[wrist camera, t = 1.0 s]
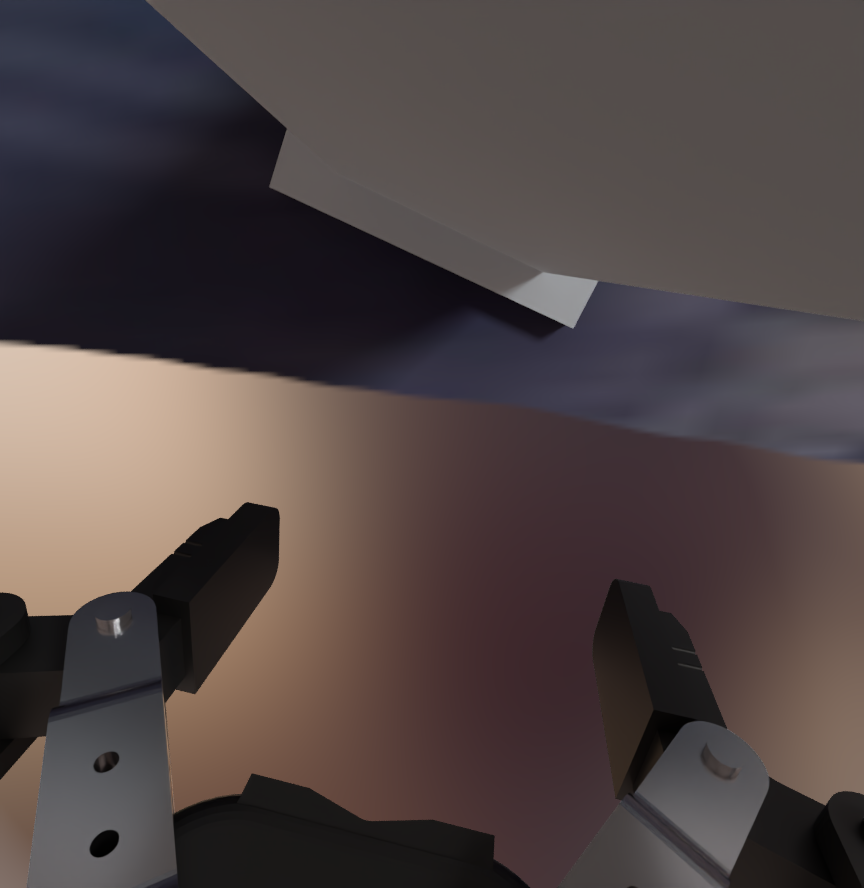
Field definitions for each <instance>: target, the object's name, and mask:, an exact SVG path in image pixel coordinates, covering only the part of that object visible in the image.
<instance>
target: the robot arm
mask: <svg viewBox="0 0 864 888" xmlns="http://www.w3.org/2000/svg"><path fill="white" fill-rule="evenodd" d="M279 524H280V516H279V511H278V509H277V508H273V507H268V506H263V505H258V504H253V503H249V502H247V503H244V504H243V505H242V506H241V507H240V508H239V509H238V510H237V511H236V512H235V513H234V514H233V515H232V516H231V517H230V518H229V519H224V518H219V519H217V520H214V521H212V522H210V523H208V524H206V525H204V526H202V527H200V528H199V529H198V530H197V531H195V532H194V533H193V534H192V535H191V536H190V537H189V538H188V539H187V540H186V542H185V543H183V544H181V545H180V547H178V548H177V549H176V550H175V551H174V554H171V555H170V556H169V557H167V559H165V560H164V561H163V562H162V563H161V564H160V565H159V566H158V567H157V568H156V569H155V570H153V571H152V572H151V573H150V574H149V575H148V576H147V577H146V578H145V579H144V580H143V581H142V582H141V583H139V585H137V586H136V587H135V588H134V589H133V590H132V591H131V592H117V593H111V594H107V595H104V596H101V597H98V598H96V599H94V600H92V601H90V602H88V603H87V604H85V605H84V606H82V607H81V608H80V609H79V610H78V611H76V613H75V614H74V615H62V616H28V613H27V609H26V605H25V602H24V601H23V599H22V598H20V597H19V596H17V595H14V594H10V593H0V779H1V778H2V777H3V776H4V775H5V774H6V773H7V772H8V770H9V769H10V768H11V767H12V765H14V763H15V762H16V761H17V760H18V759H19V758H20V757H21V756H22V754H23V753H24V752H25V751H26V750H27V749H28V748H29V746H30V745H31V744H32V743H33V742H34V741H35V740H36V738H37V737H42V736H46V742H45V750H44V757H43V765H42V772H41V781H40V788H39V795H38V803H37V812H36V818H35V826H34V834H33V842H32V849H31V858H30V865H29V873H28V880H27V888H530V887H529V886H528V885H527V884H526V883H525V882H524V881H523V880H521V878H519V877H518V876H517V875H516V874H515V873H513V872H512V871H511V870H509V869H508V868H507V867H505V866H504V865H503V864H501V863H499V862H498V861H496V860H494V859H493V857H494V835H490V834H486V833H482V832H478V831H474V830H471V829H467V828H463V827H459V826H455V825H451V824H447V823H443V822H439V821H435V820H408V821H407V820H406V821H366V820H363V819H361V818H359V817H357V816H356V815H354V814H352V813H350V812H349V811H347V810H346V809H344V808H342V807H340V806H339V805H337V804H335V803H334V802H332V801H330V800H329V799H327V798H325V797H324V796H322V795H320V794H318V793H317V792H315V791H313V790H312V789H310V788H307V787H302V786H299V785H295V784H291V783H287V782H283V781H279V780H276V779H272V778H268V777H264V776H260V775H256V774H251V776H250V778H249V780H248V782H247V784H246V786H245V789H244V790H243V792H242V794H235V795H234V794H233V795H227V796H220V797H215V798H212V799H208V800H204V801H201V802H199V803H196V804H193V805H191V806H188V807H186V808H184V809H182V810H180V811H178V812H176V813H175V809H174V798H173V788H172V776H171V775H172V774H171V764H170V751H169V740H168V729H167V716H166V705H165V703H166V701H167V700H168V699H169V697H170V696H171V695H172V693H173V692H174V691H175V689H176V690H180V691H184V692H189V693H192V694H195V693H196V692H197V691H198V689H199V688H200V687H201V685H202V684H203V682H204V681H205V679H206V678H207V676H208V675H209V674H210V672H211V671H212V669H213V668H214V667H215V665H216V664H217V662H218V661H219V659H220V658H221V657H222V655H223V654H224V652H225V651H226V650H227V648H228V647H229V645H230V644H231V642H232V641H233V640H234V638H235V637H236V635H237V634H238V632H239V631H240V630H241V628H242V627H243V625H244V624H245V622H246V621H247V620H248V618H249V617H250V615H251V614H252V612H253V611H254V610H255V608H256V607H257V605H258V604H259V602H260V601H261V600H262V598H263V597H264V595H265V594H266V593H267V591H268V590H269V588H270V587H271V585H272V583H273V581H274V579H275V576H276V573H277V569H278V563H279ZM593 663H594V669H595V675H596V681H597V687H598V694H599V700H600V706H601V712H602V718H603V724H604V730H605V736H606V743H607V748H608V755H609V761H610V767H611V773H612V779H613V785H614V791H615V797H616V799H619V800H622V801H621V802H620V803H619V805H618V806H617V808H616V809H615V810H614V812H613V813H612V814H611V816H610V817H609V818H608V820H607V821H606V822H605V824H604V825H603V826H602V828H601V829H600V831H599V832H598V833H597V835H596V836H595V838H594V839H593V840H592V841H591V843H590V844H589V846H588V847H587V848H586V850H585V851H584V852H583V854H582V855H581V856H580V858H579V859H578V860H577V862H576V864H575V865H574V866H573V867H572V869H571V870H570V871H569V873H568V874H567V875H566V877H565V878H564V879H563V881H562V882H561V883H560V885H559V886H558V888H864V795H862V794H860V793H855V792H848V791H843V792H838V793H836V794H834V795H833V796H832V797H831V798H830V800H829V801H828V803H827V804H826V806H825V805H823V804H821V803H819V802H817V801H815V800H813V799H811V798H809V797H807V796H805V795H802V794H801V793H799V792H797V791H795V790H793V789H791V788H789V787H787V786H785V785H783V784H781V783H779V782H777V781H775V780H774V779H772V778H770V777H769V776H768V773H767V770H766V768H765V766H764V764H763V762H762V761H761V759H760V758H759V757H758V755H757V754H756V753H755V751H754V750H753V749H752V748H751V747H750V746H749V745H748V744H747V743H746V742H744V741H743V740H742V739H741V738H740V737H738V736H737V735H736V734H734V733H732V732H731V731H729V730H727V727H726V725H725V723H724V720H723V717H722V715H721V713H720V710H719V708H718V705H717V703H716V700H715V698H714V695H713V693H712V691H711V688H710V686H709V683H708V681H707V678H706V676H705V674H704V671H702V666H701V664H700V661H699V659H698V656H697V655H695V649H694V646H693V644H692V641H691V639H690V637H689V634H688V632H687V631H686V630H685V628H684V627H683V626H682V625H681V624H680V623H679V622H678V620H677V619H676V618H675V617H674V616H673V615H672V614H671V613H667V612H663V611H659V609H658V606H657V604H656V601H655V598H654V596H653V592H652V590H651V588H650V586H648V585H643V584H638V583H633V582H629V581H624V580H618V579H614V580H613V581H612V583H611V585H610V588H609V591H608V594H607V597H606V600H605V603H604V606H603V609H602V612H601V615H600V618H599V621H598V624H597V627H596V630H595V634H594V639H593Z"/></svg>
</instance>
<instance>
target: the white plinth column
mask: <svg viewBox="0 0 864 888" xmlns="http://www.w3.org/2000/svg"><path fill="white" fill-rule="evenodd" d="M146 1H147V2H148V3H149V4H150V5H151V6H152V7H154V8H155V9H156V10H157V11H158V12H159V13H160V14H161V15H162V16H164V17H165V18H166V19H167V20H168V21H169V22H170V23H171V24H172V25H173V26H175V27H176V28H177V29H178V30H179V31H180V32H181V33H182V34H183V35H184V36H186V37H187V38H188V39H189V40H190V41H191V42H192V43H193V44H194V45H196V46H197V47H198V48H199V49H200V50H201V51H202V52H203V53H204V54H205V55H207V56H208V57H209V58H210V59H211V60H212V61H213V62H214V63H215V64H216V65H218V66H219V67H220V68H221V69H222V70H223V71H224V72H225V73H226V74H228V75H229V76H230V77H231V78H232V79H233V80H234V81H235V82H236V83H237V84H239V85H240V86H241V87H242V88H243V89H244V90H245V91H246V92H247V93H248V94H250V95H251V96H252V97H253V98H254V99H255V100H256V101H257V102H258V103H260V104H261V105H262V106H263V107H264V108H265V109H266V110H267V111H268V112H269V113H271V114H272V115H273V116H274V117H275V118H276V119H277V120H278V121H279V122H280V123H282V124H283V125H284V126H285V127H286V128H287V130H286V133H285V137H284V140H283V143H282V146H281V150H280V153H279V156H278V160H277V163H276V166H275V169H274V173H273V176H272V179H271V183H270V186H269V187H270V188H272V189H274V190H277V191H279V192H281V193H283V194H285V195H287V196H290V197H292V198H294V199H296V200H298V201H300V202H302V203H305V204H307V205H309V206H311V207H313V208H315V209H317V210H320V211H322V212H324V213H326V214H328V215H330V216H332V217H335V218H337V219H339V220H341V221H343V222H345V223H348V224H350V225H352V226H354V227H356V228H358V229H360V230H363V231H365V232H367V233H369V234H371V235H373V236H375V237H378V238H380V239H382V240H384V241H386V242H388V243H390V244H393V245H395V246H397V247H399V248H401V249H403V250H405V251H408V252H410V253H412V254H414V255H416V256H418V257H421V258H423V259H425V260H427V261H429V262H431V263H433V264H436V265H438V266H440V267H442V268H444V269H446V270H448V271H451V272H453V273H455V274H457V275H459V276H461V277H463V278H466V279H468V280H470V281H472V282H474V283H476V284H479V285H481V286H483V287H485V288H487V289H489V290H491V291H494V292H496V293H498V294H500V295H502V296H504V297H506V298H509V299H511V300H513V301H515V302H517V303H519V304H521V305H524V306H526V307H528V308H530V309H532V310H534V311H537V312H539V313H541V314H543V315H545V316H547V317H549V318H552V319H554V320H556V321H558V322H560V323H562V324H564V325H567V326H569V327H571V328H574V326H575V324H576V322H577V320H578V319H579V317H580V315H581V313H582V311H583V309H584V307H585V305H586V303H587V301H588V299H589V297H590V296H591V294H592V292H593V290H594V288H595V286H596V284H597V282H598V281H603V282H610V283H616V284H623V285H629V286H636V287H643V288H649V289H656V290H662V291H669V292H675V293H682V294H689V295H695V296H702V297H708V298H715V299H722V300H728V301H735V302H741V303H748V304H755V305H761V306H768V307H774V308H781V309H787V310H794V311H801V312H807V313H814V314H820V315H827V316H834V317H840V318H847V319H853V320H860V321H864V0H146Z"/></svg>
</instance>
